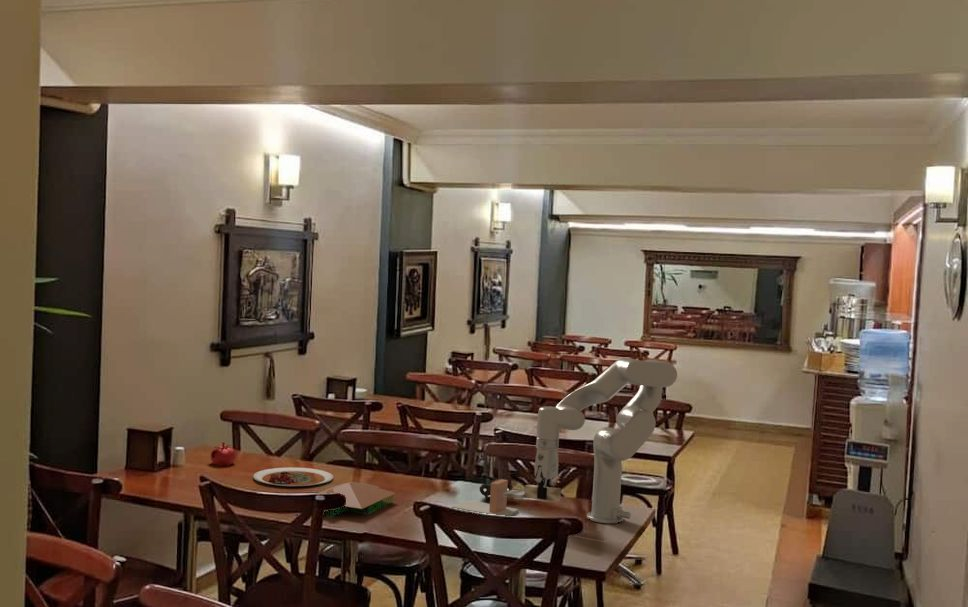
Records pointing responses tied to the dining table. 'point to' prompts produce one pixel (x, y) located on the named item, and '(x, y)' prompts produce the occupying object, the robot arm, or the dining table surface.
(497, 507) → the tile
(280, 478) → the plated food
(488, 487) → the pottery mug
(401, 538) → the dining table surface
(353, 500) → the house
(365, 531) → the dining table surface
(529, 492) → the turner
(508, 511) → the board
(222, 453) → the pomegranate
